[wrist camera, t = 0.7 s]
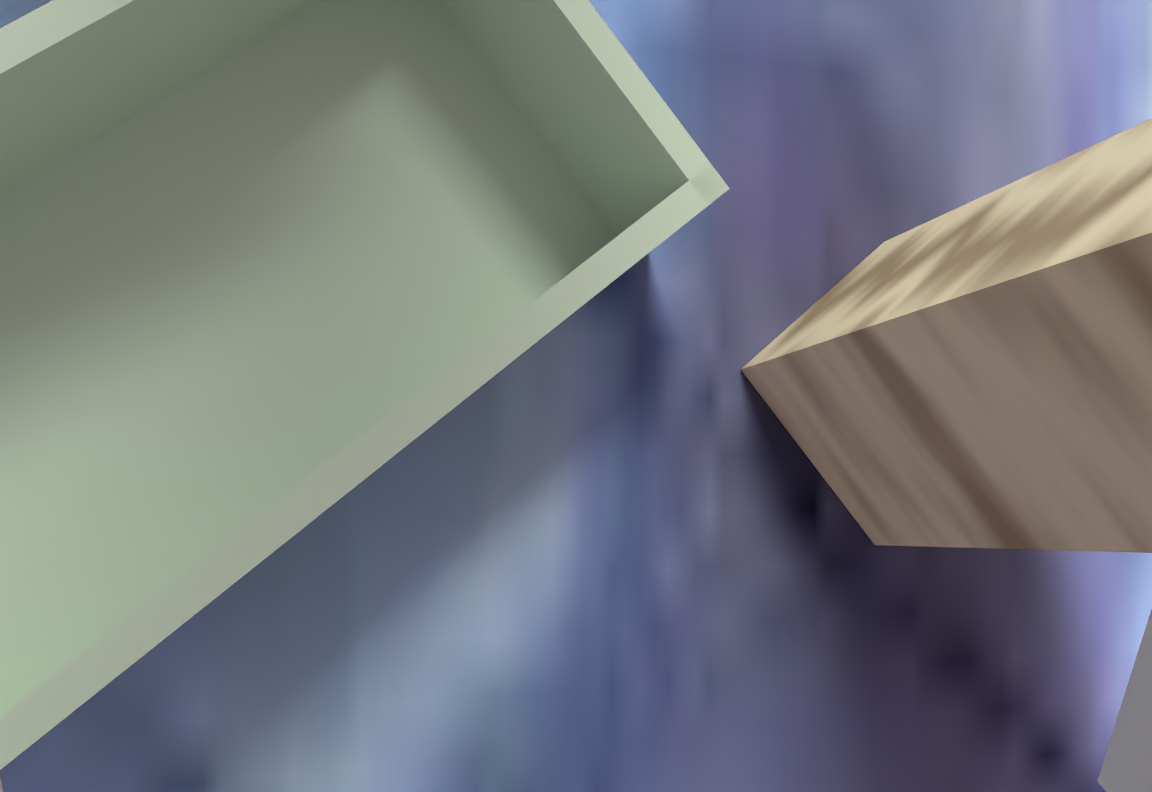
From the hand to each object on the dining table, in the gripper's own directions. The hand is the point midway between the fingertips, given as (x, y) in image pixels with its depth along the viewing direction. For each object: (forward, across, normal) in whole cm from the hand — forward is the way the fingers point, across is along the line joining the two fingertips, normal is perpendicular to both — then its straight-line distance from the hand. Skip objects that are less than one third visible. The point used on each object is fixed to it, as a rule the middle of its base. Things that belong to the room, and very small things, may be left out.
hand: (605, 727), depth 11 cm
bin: (+24, -10, -3) cm, 26 cm away
